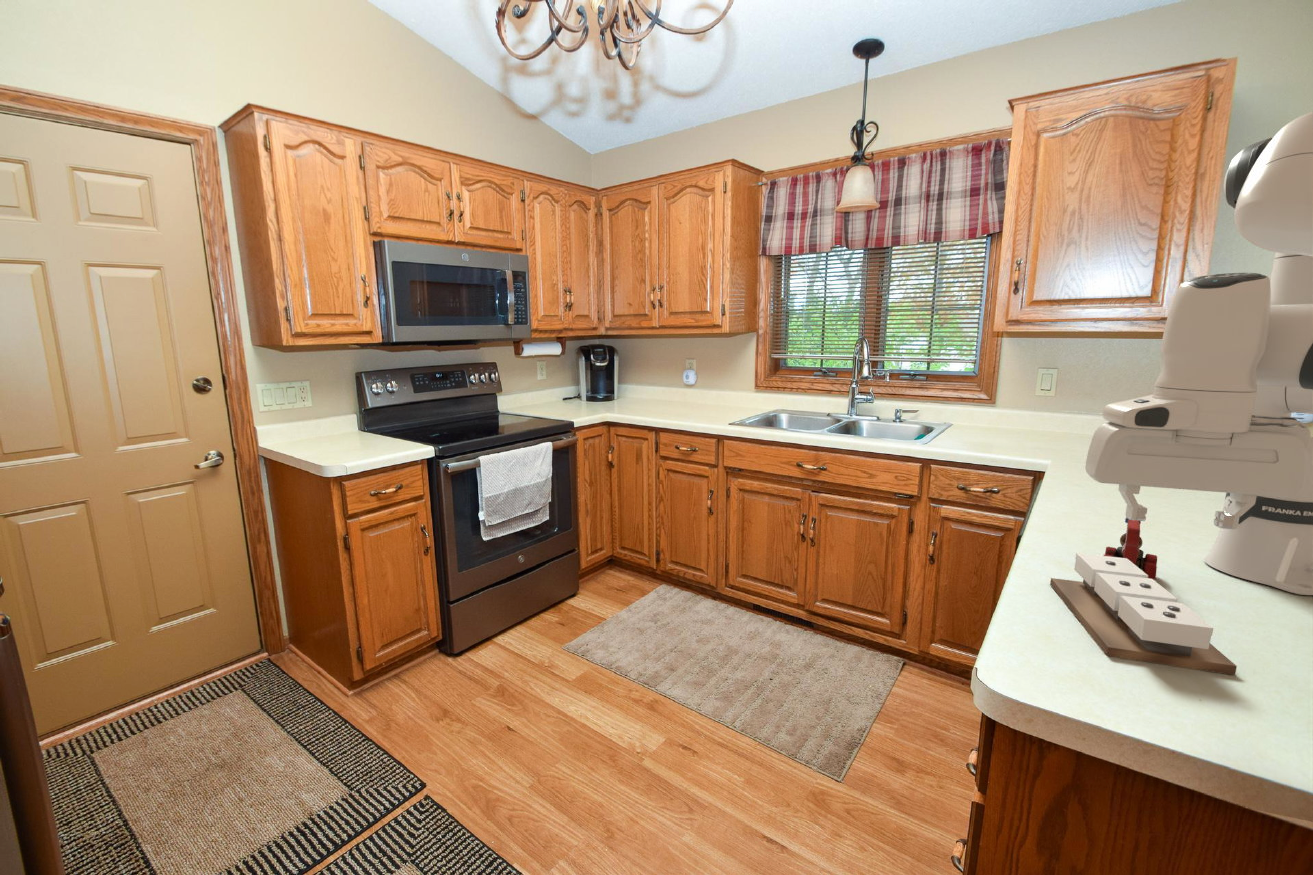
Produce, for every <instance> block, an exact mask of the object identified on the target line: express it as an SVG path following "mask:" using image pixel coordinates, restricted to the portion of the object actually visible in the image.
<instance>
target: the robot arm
mask: <svg viewBox="0 0 1313 875" xmlns="http://www.w3.org/2000/svg"><path fill="white" fill-rule="evenodd" d="M1223 191H1224V195H1225V199H1226V202H1227V204H1228V206H1230V207H1232V208H1233V209H1234V214H1233V219H1234V220H1233V221H1234V225H1235V227H1236V229H1237V231H1238V233H1239V234H1240V235H1241V236H1242V237H1243V238H1244V239H1245V240H1246V241H1247V242H1249V243H1251V244H1253V245H1254V246H1256V247H1258V248H1261V249H1263V250H1266V251H1270V252H1274V253H1275V254H1274V257H1273V258H1274V260H1273V264H1272V269H1271V275H1270V278H1269V276H1267V275H1264V274H1261V273H1257V272H1256V273H1255V272H1231V273H1218V274H1217V273H1216V274H1212V275H1211V274H1210V275H1200V276H1195V277H1193V278H1189V279H1188V280H1186V281H1183V282H1181V283H1180V284H1179V286H1178V288H1177V290H1176V292H1175V294H1174V297H1173V300H1172V303H1171V306H1170V309H1169V312H1168V316H1167V318H1166V320H1165V321H1166V322H1165V324H1164V326H1165V327H1164V330H1163V334H1162V340H1161V345H1160V356H1161V370H1160V372H1159V375H1158V377H1157V378H1156V379H1155V380H1156V381H1155V383H1154V388H1153V392H1152V394H1150V395H1146V396H1140V397H1137V398H1131V399H1127V400H1122V401H1117V402H1112V403H1109V404H1106V405H1105V406H1104V407H1103V409H1102V418H1103V419H1104V420H1105V421H1108V422H1105V423H1103V424H1101V425H1100V426H1098V427H1097V428H1096V430H1095V432H1094V433H1093V435H1092V437H1091V441H1090V444H1089V448H1088V452H1087V455H1086V460H1085V466H1084V467H1085V469H1084V470H1085V472H1086V474H1087V475H1088V476H1089V477H1090V478H1091V479H1093V480H1094V481H1096V482H1097V483H1099V484H1108V485H1109V484H1110V485H1118V491H1119V493H1120V495H1121V497H1122V498H1123V500H1124V502H1125V504H1126V509H1125V519H1126V518H1128V519H1129V520H1137V521H1141V522H1145V521H1146V520H1147V516H1146V515H1147V513H1148V507H1146V506H1144V505H1142V504H1139V503H1138V500H1137V499H1136V497H1135V495H1139V494H1140V491H1141V487H1149V488H1160V489H1163V488H1164V489H1172V490H1173V489H1174V490H1186V491H1187V490H1188V491H1201V492H1202V491H1203V492H1213V493H1214V492H1215V493H1224V494H1225V493H1226V494H1225V497H1224V501H1223V508H1222V511H1221V510H1215V512H1214V517H1215V518H1214V519H1213V525H1214V526H1215V527H1217V528H1218V529H1219V530H1218V533H1217V534H1216V537H1215V540H1214V542H1213V544H1212V545H1211V548H1210V549H1209V550H1208V552H1207V554H1206V555H1205V556H1204V558H1203V560H1204V562H1205V563H1206V564H1207V565H1209V566H1210V567H1212V568H1214V569H1216V570H1218V571H1221V572H1222V573H1225V574H1228V575H1231V576H1233V577H1237V578H1241V579H1244V580H1248V581H1251V582H1254V583H1259V584H1263V585H1267V586H1271V587H1273V588H1276V589H1279V590H1282V591H1285V592H1289V593H1291V594H1296V595H1302V596H1304V595H1305V596H1313V436H1311V430H1310V429H1309V427H1308V426H1307V425H1306V424H1305V423H1303V422H1302V421H1299V420H1298V419H1297V418H1296V417H1293V416H1292V414H1294V413H1295V414H1298V413H1299V414H1309V415H1313V111H1311V112H1308V113H1304V114H1303V115H1301V116H1299V117H1296V118H1294V119H1292V120H1291V121H1290V122H1288V123H1287V124H1285V125H1284V126H1283V127H1282V128H1281V129H1280V130H1279V131H1277V132H1276V133H1275V135H1274V136H1273V137H1269V138H1266V139H1262V140H1259V141H1257V142H1255V143H1252V144H1250V145H1247V146H1246V147H1244V148H1243V149H1242V150H1241V151H1240V152H1238V153H1237V154H1236V155H1234V157H1233V158H1232V159H1231V161H1230V164H1229V166H1228V169H1227V170H1226V173H1225V176H1224V180H1223ZM1296 425H1297V426H1296Z"/></svg>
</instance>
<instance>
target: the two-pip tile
mask: <svg viewBox="0 0 1313 875" xmlns="http://www.w3.org/2000/svg"><path fill="white" fill-rule="evenodd" d="M1095 579H1096V581H1095V588H1094V591H1095V592H1096V593H1097V594H1098V595H1099V596H1100V597H1101V598H1102V599H1103V600H1104V601H1105V602H1106V603H1107V604H1108V605H1109V606H1110V607H1111V608H1112V609H1113V611H1118V610H1119V604H1120V603H1119V600H1120V596H1128V597H1136V598H1144V599H1152V600H1160V601H1168V602H1176V603H1178V598H1177V597H1176V596H1174V595H1173V594H1172V593H1170V592H1169V590H1167V589H1165V588H1164V587H1163V586H1162V585H1161V584H1160V583H1158V582H1157V581H1156V580H1155V581H1154V580H1153V579H1150V578H1141V577H1132V576H1124V575H1115V574H1106V573H1097V572H1096V578H1095Z"/></svg>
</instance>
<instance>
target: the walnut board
mask: <svg viewBox="0 0 1313 875" xmlns="http://www.w3.org/2000/svg"><path fill="white" fill-rule="evenodd" d="M1082 579H1083V578H1082ZM1049 586H1051V589H1053V591H1054V592H1055V593H1056V594H1057V596H1058V597H1059V598H1060V600H1061V601H1062V602H1063V603H1064V604H1065V606H1066V607H1067V609H1069V610H1070V612H1071V613H1072V614H1073V616H1074V617H1075V618H1076V619H1077V621H1078V622H1079V623H1080V624H1081V626H1082V627H1083V628H1084V629H1085V631H1086V632H1087V633H1088V635H1089V636H1090V637H1091V638H1092V639H1093V640H1094V642H1095V643H1096V644H1097V645H1098V647H1099V648H1100V649H1101V650H1102V652H1103V653H1104V655H1106V657H1107V656H1108V657H1113V658H1120V659H1126V660H1133V661H1140V662H1146V663H1153V664H1159V665H1166V666H1172V667H1179V668H1186V669H1193V670H1200V671H1206V672H1213V673H1219V674H1223V675H1224V674H1225V675H1231V676H1235V675H1236V672H1237V667H1238V666H1237V665H1236V664H1235V663H1234V662H1232V660H1231V659H1229V658H1228V657H1227V656H1226V655H1225V654H1223V653H1222V652H1221V651H1220V650H1218V648H1216V647H1215V646H1214V645H1213V644H1212V643H1210V645H1209V649H1203V648H1196V647H1189V646H1182V645H1175V644H1168V643H1161V642H1154V641H1147V640H1141V639H1140V638H1139V637H1138V636H1137V635H1136V634H1135V633H1134V631H1133V630H1132V629H1131V628H1130V627H1129V626H1128V625H1127V624H1126V623H1125V622H1124V621H1123V620H1122V619H1121V618H1120V617H1119V616H1118V611H1113V609H1112V608H1111V607H1110V606H1109V605H1108V604H1107V603H1106V602H1105V601H1104V600H1103V599H1102V598H1101V597H1100V596H1099V595H1098V594H1097V593H1096V592H1095V591H1094V588H1095V587H1091V586H1090V585H1089V584H1088V583H1087V582H1086V581H1085V580H1084V579H1083V580H1082V581H1079V580H1073V579H1072V580H1069V579H1062V578H1055V577H1050V583H1049Z"/></svg>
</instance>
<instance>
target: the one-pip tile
mask: <svg viewBox="0 0 1313 875" xmlns="http://www.w3.org/2000/svg"><path fill="white" fill-rule="evenodd" d="M1074 558H1075V563H1074V571H1075V572H1076V573H1077V574H1078V576H1080V577H1081V578H1082V579H1084V580H1085V581H1086V582H1087V583H1088V584H1089V585H1090V586H1091V587H1095V581H1096V579H1095V578H1096V572H1097V573H1106V574H1115V575H1124V576H1132V577H1141V578H1148V575H1147V574H1146V573H1144V572H1143V571H1142V570H1141V569H1140V568H1138V567H1137V566H1136V565H1135V564H1133V563H1132V562H1131V561H1130V560H1128V559H1127V558H1119V557H1109V556H1103V555H1100V554H1099V555H1097V554H1090V553H1081V552H1079V553H1078V552H1075V557H1074Z"/></svg>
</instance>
